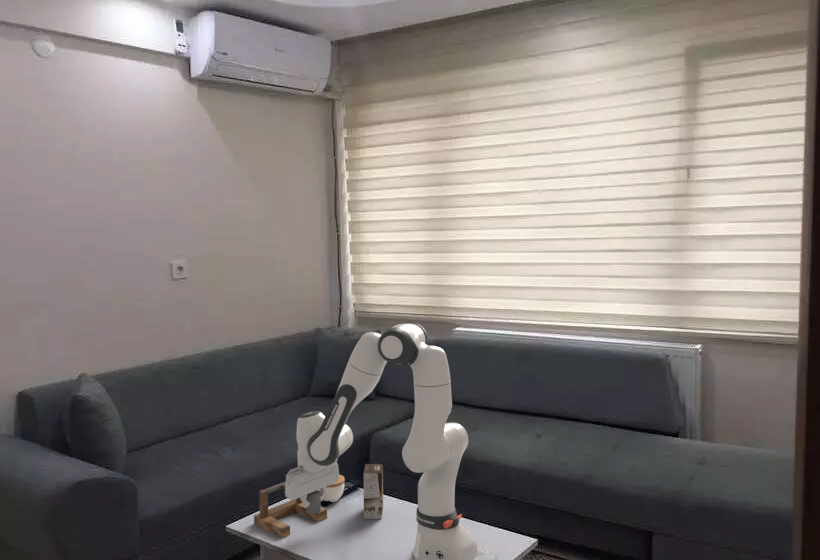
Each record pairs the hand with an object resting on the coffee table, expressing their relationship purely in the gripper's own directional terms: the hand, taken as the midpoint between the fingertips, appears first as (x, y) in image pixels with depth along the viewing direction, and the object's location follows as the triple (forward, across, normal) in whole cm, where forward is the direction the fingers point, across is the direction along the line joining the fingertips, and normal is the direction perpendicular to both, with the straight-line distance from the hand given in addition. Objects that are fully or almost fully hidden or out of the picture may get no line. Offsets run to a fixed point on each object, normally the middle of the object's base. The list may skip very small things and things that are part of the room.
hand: (313, 503), depth 222 cm
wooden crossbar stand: (+10, +1, +13) cm, 16 cm away
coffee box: (+10, +24, -4) cm, 26 cm away
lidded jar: (+10, +22, +16) cm, 29 cm away
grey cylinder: (+2, 0, 0) cm, 2 cm away
